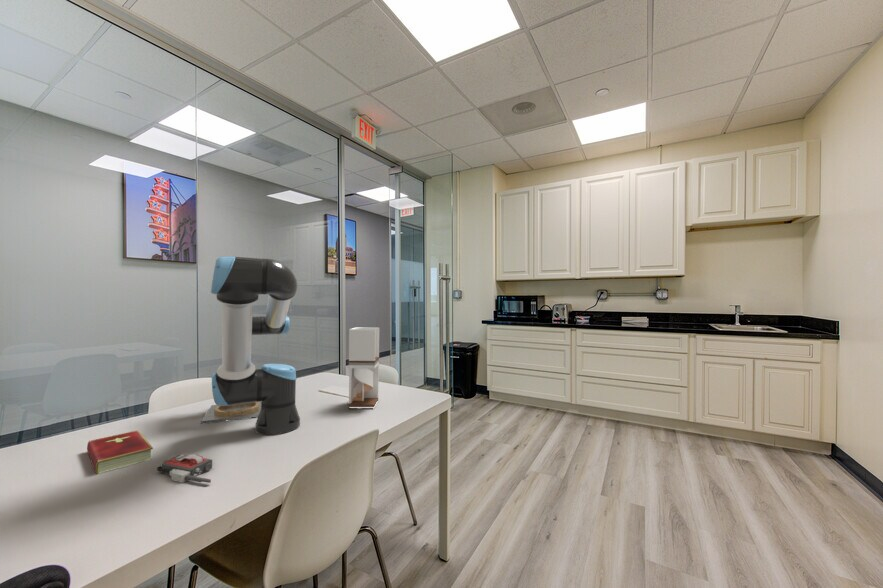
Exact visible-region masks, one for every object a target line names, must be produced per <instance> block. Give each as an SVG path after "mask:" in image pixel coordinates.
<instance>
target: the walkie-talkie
mask: <svg viewBox="0 0 883 588" xmlns="http://www.w3.org/2000/svg"><path fill="white" fill-rule="evenodd" d="M212 469H213V458H212V459H211V458H207V457H206V458H205V457H203V456H202V455H197V454H189V455H186V454H185V453H183V454H178V455H176V456H173V457H170V458H169V459H166V460H163V461H162V463H161V465H160V466H157V468H156V471H157V472H161V474H162V475H168V476H170V477H171V481H174V482H179V483H185V482H186V481H187V482H188V481H191V482H196V483H208V484H211V482H212V479H210V478H205V477H199V476H200V475H202V474H203V473H205V472H210V470H212Z"/></svg>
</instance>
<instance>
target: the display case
mask: <svg viewBox="0 0 883 588" xmlns="http://www.w3.org/2000/svg"><path fill="white" fill-rule="evenodd" d="M348 332H349V333H348V334H349V336H348V338H349V339H348V341H349V342H348V369H349V371H348V373H349V374H348V378H349V379H348V382H349V383H348V403H347V408H348V407H374V406H375V404H376V402H377V401H378V402H379V378H380V375H379V374H380V373H379V371H380V368H379V366H380V363H379V362H380V327H353V328H349V331H348Z"/></svg>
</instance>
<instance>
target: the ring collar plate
mask: <svg viewBox="0 0 883 588" xmlns="http://www.w3.org/2000/svg"><path fill="white" fill-rule="evenodd" d="M260 410H261V402H253V403H244V404H236V405H232V406H218V405H216V404H212V405H211V406H210V407H209V408H208V410H207V412H206V413H205V414H204V416H203V418H202V419H201V420H200V424H201V425H203V423H205V424H211V423H210V422H214V423H219V422H218V421H222V422H227V421H226V420H231V421H235V420H234V419H240V420H243V419H242V418H249V419H251V418H250V417H257V418H258V416H259V413H260Z"/></svg>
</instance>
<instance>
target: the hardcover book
mask: <svg viewBox="0 0 883 588" xmlns="http://www.w3.org/2000/svg"><path fill="white" fill-rule="evenodd" d="M86 449H87V454H88V457H89V456H90V457H89V459H90V461H92V462H91V464H92V466H93V470H94V472H95V473H96V475H97V474H98V475H99V474H103V473H106V472H105V471H107V472H110V471H114V470H117V468H118V469H121V467H122V468H125V467H129V466H133V465H136V464H139V463H140V464H141V463H143V461H144V462H147V460H148V461H150V460H151V459H152V457H151V456H152V450H154V447H153V446H152V444H150V443H149V441H148V440H147V439H146V438H145V436H144V435H143V434H142V433H141V432H140V431H139V430H133V431H128V432H124V433H119V434H115V435H111V436H109V435H108V436H106V437H100V438H95V439H92V440H88V442H87V446H86ZM113 469H114V470H113ZM109 470H110V471H109ZM102 472H103V473H102Z"/></svg>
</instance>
